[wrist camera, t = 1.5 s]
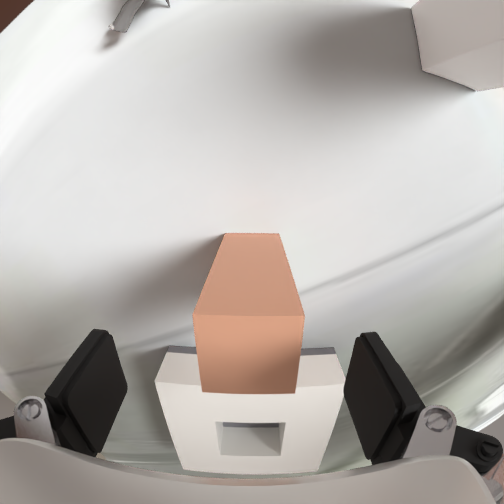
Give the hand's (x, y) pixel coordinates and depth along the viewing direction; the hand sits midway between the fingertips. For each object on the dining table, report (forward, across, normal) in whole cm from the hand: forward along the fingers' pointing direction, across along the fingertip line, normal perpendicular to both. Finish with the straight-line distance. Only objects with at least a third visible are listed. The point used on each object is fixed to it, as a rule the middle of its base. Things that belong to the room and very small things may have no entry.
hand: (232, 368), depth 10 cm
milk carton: (+12, -18, -20) cm, 30 cm away
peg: (+13, -1, 0) cm, 13 cm away
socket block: (+13, -1, +16) cm, 20 cm away
